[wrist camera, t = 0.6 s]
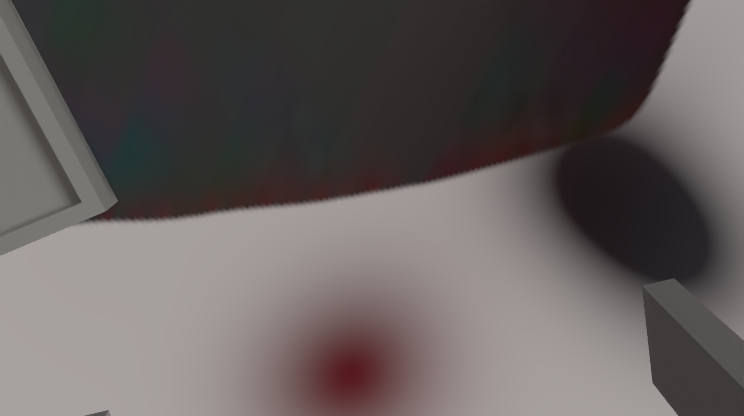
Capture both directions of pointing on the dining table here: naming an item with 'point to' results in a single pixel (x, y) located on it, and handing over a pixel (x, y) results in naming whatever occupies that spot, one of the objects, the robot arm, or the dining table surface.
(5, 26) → the tray
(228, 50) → the dining table surface
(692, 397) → the robot arm
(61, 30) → the dining table surface
